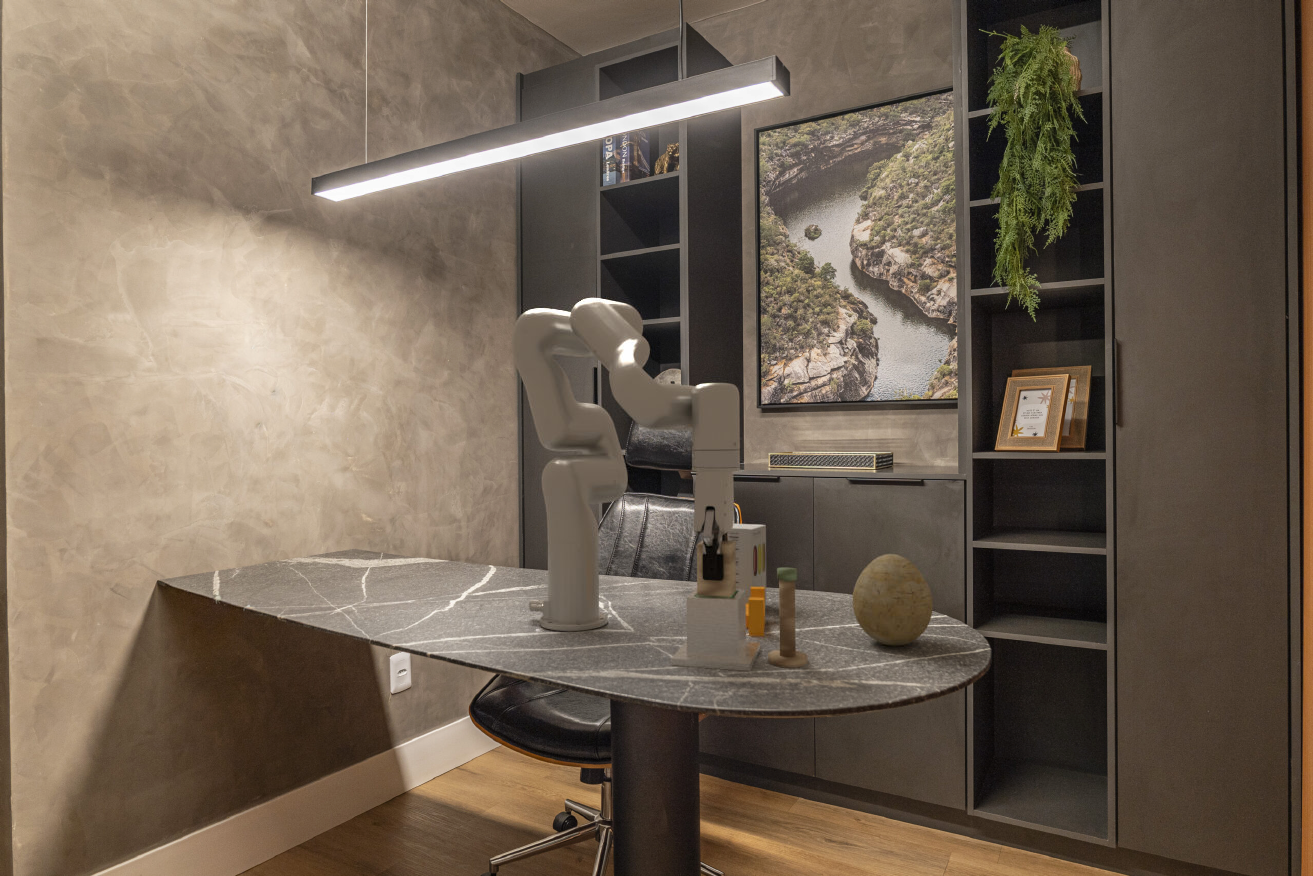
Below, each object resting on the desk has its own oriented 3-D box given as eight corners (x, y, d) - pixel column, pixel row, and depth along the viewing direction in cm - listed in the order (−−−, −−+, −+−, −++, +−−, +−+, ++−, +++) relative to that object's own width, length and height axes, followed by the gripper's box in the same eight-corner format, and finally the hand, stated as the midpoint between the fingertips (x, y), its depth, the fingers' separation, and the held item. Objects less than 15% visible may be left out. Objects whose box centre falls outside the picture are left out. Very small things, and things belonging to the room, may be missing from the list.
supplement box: (752, 615, 146) (752, 529, 146) (708, 611, 150) (708, 527, 150) (767, 605, 155) (766, 524, 155) (725, 601, 159) (724, 522, 159)
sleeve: (671, 665, 114) (670, 599, 114) (688, 644, 126) (687, 584, 126) (750, 671, 111) (749, 603, 111) (760, 649, 123) (759, 587, 123)
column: (696, 641, 116) (695, 544, 116) (703, 632, 122) (702, 540, 122) (731, 643, 115) (730, 545, 115) (737, 634, 120) (736, 541, 120)
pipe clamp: (742, 620, 143) (741, 586, 143) (765, 620, 142) (764, 586, 142) (738, 636, 131) (738, 599, 131) (763, 637, 131) (763, 600, 131)
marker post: (765, 666, 113) (765, 571, 113) (770, 655, 119) (769, 565, 119) (806, 668, 112) (805, 573, 112) (808, 657, 118) (808, 566, 118)
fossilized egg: (872, 630, 134) (872, 546, 134) (944, 642, 126) (943, 553, 126) (839, 645, 124) (838, 555, 124) (915, 660, 116) (914, 563, 116)
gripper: (703, 460, 128) (703, 566, 128) (680, 463, 111) (681, 585, 111) (747, 460, 126) (747, 568, 126) (730, 463, 109) (731, 588, 109)
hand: (716, 575), depth 118 cm, fingers closed on column, 5 cm apart
